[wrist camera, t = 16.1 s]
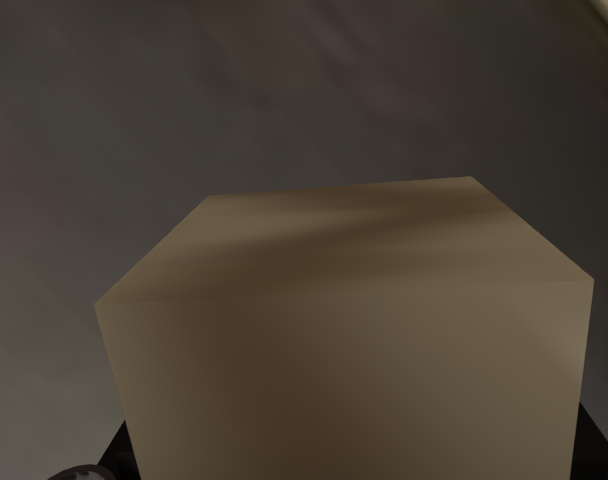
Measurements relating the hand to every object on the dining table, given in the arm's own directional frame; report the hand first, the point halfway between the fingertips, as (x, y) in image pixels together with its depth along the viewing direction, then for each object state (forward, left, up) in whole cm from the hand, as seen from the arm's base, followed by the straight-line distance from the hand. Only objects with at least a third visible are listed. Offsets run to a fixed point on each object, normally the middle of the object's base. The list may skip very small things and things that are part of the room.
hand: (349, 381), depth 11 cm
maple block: (0, -1, -1) cm, 1 cm away
